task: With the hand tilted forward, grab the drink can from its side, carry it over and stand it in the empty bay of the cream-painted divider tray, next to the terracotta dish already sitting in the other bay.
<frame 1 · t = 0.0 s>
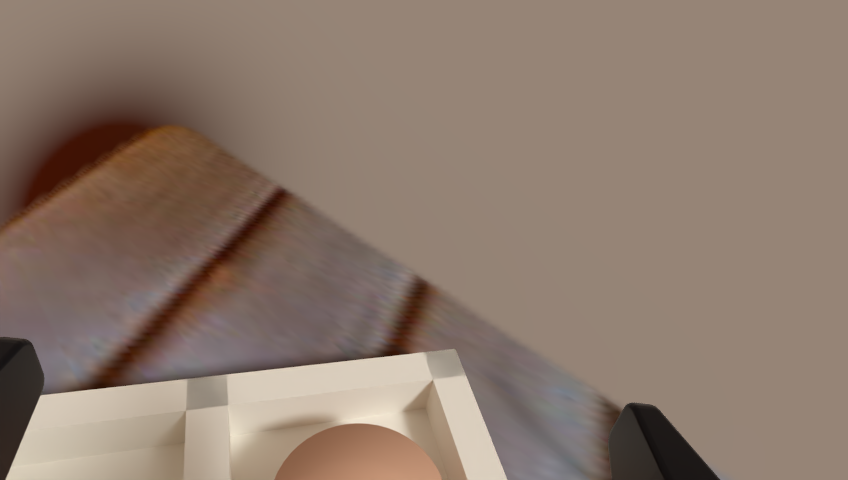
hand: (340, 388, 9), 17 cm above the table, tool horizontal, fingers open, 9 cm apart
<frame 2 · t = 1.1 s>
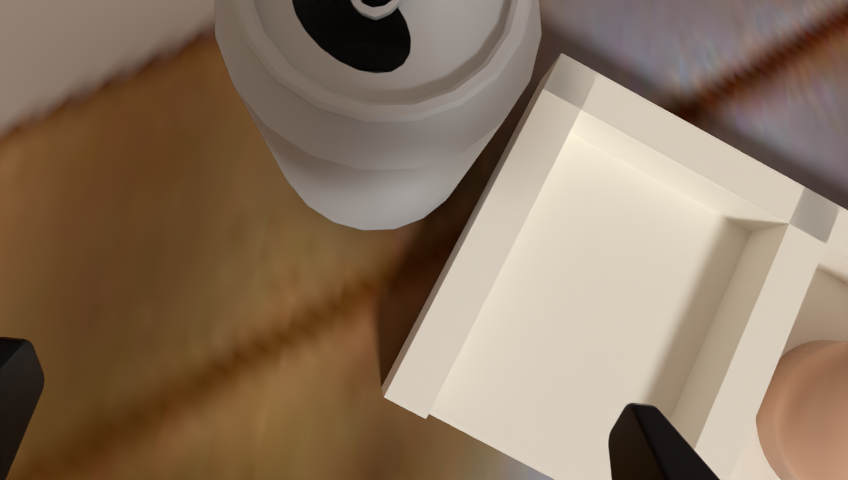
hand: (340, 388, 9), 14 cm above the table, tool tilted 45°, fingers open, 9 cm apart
can: (373, 142, 24), on the table
divider tray: (710, 358, 24), on the table
terracotta dish: (831, 421, 24), resting on divider tray
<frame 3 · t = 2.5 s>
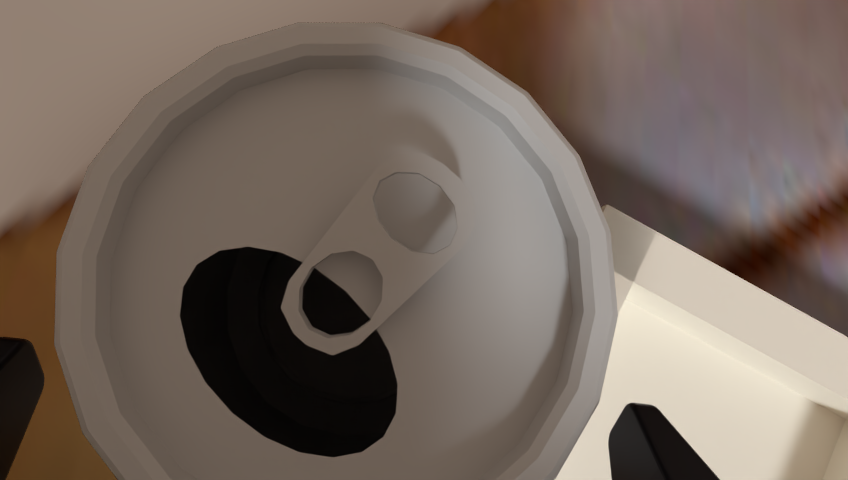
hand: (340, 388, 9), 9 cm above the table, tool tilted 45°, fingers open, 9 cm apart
can: (358, 304, 18), on the table
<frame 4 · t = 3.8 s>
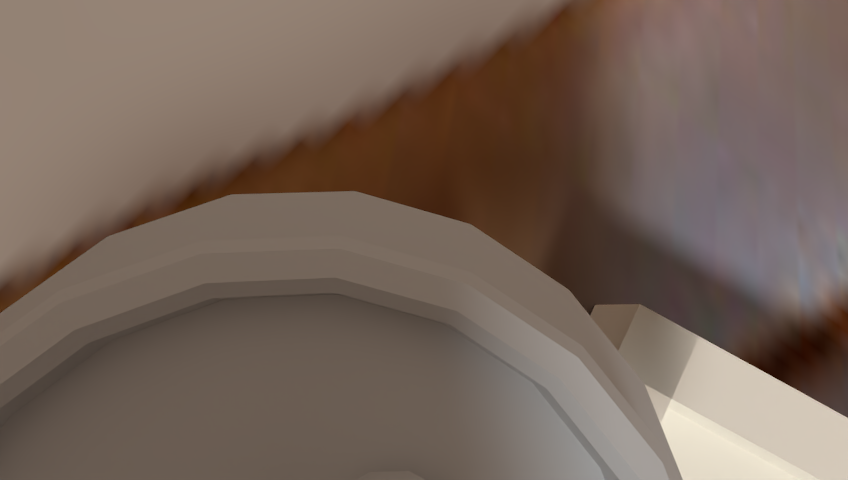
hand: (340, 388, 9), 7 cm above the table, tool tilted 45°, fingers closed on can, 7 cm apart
can: (343, 408, 16), on the table, touching gripper
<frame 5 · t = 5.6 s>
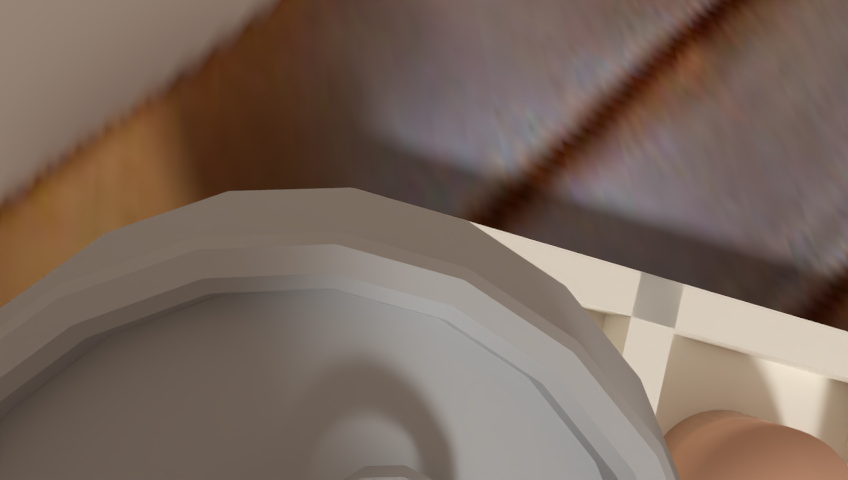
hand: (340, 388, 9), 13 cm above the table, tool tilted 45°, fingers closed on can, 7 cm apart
can: (342, 405, 16), point 6 cm above the table, touching gripper
divider tray: (587, 458, 22), on the table
when the fingers open (8 cm above the table, at t = 7.8 s): can stays where it is, resting on divider tray.
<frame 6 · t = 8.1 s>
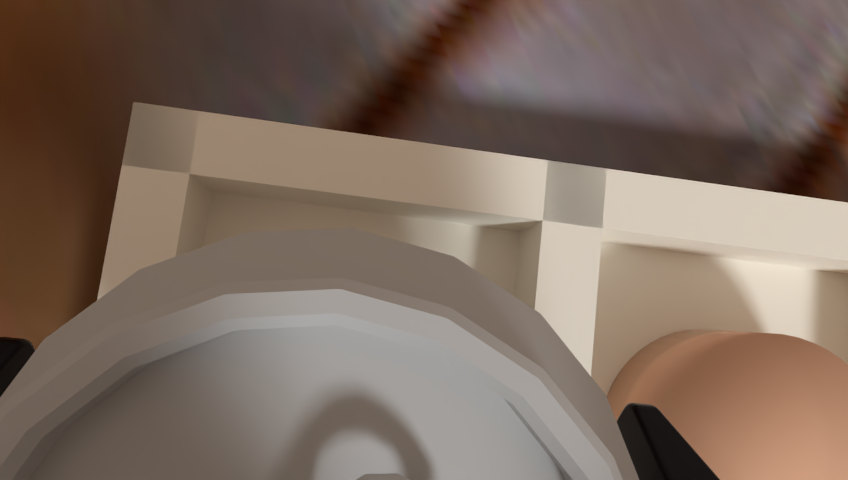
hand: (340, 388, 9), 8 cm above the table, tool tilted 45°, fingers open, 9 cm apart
can: (344, 409, 16), resting on divider tray
divider tray: (525, 418, 17), on the table
terracotta dish: (704, 439, 17), resting on divider tray
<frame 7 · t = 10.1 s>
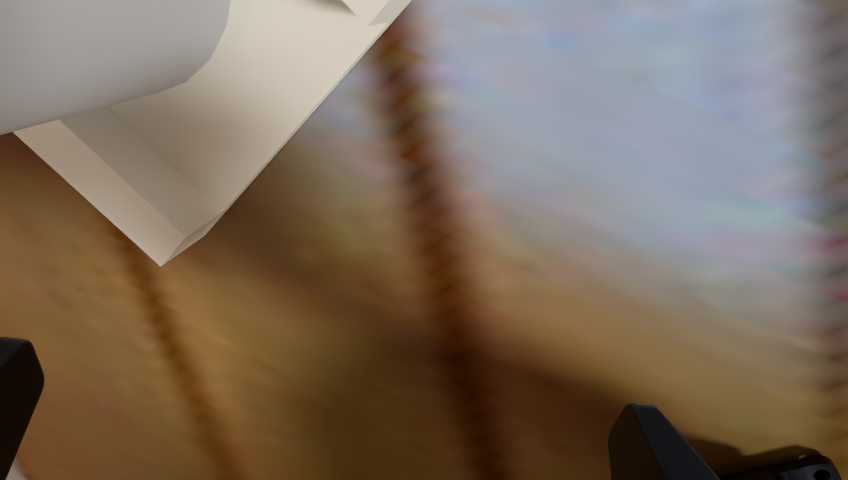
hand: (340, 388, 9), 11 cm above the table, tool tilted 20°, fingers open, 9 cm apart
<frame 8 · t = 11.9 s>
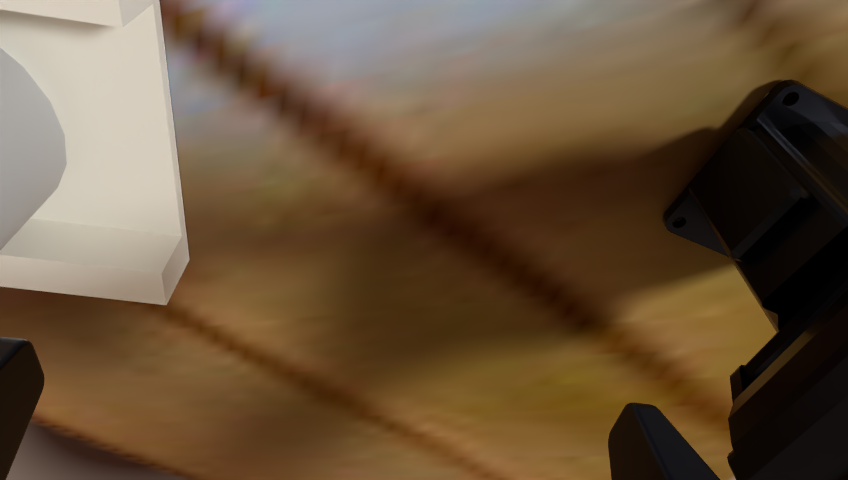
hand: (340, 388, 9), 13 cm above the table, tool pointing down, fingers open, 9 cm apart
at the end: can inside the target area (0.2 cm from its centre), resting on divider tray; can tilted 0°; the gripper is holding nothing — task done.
